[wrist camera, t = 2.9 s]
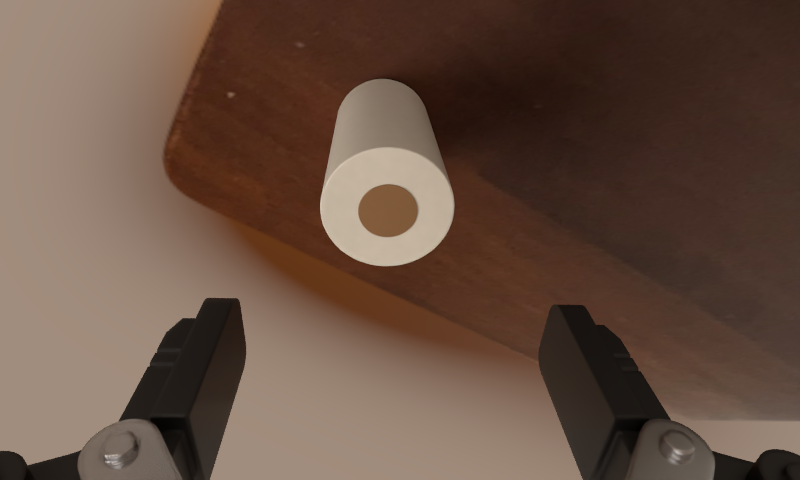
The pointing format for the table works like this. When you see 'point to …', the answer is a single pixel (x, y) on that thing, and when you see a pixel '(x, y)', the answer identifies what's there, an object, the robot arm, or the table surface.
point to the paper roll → (385, 178)
